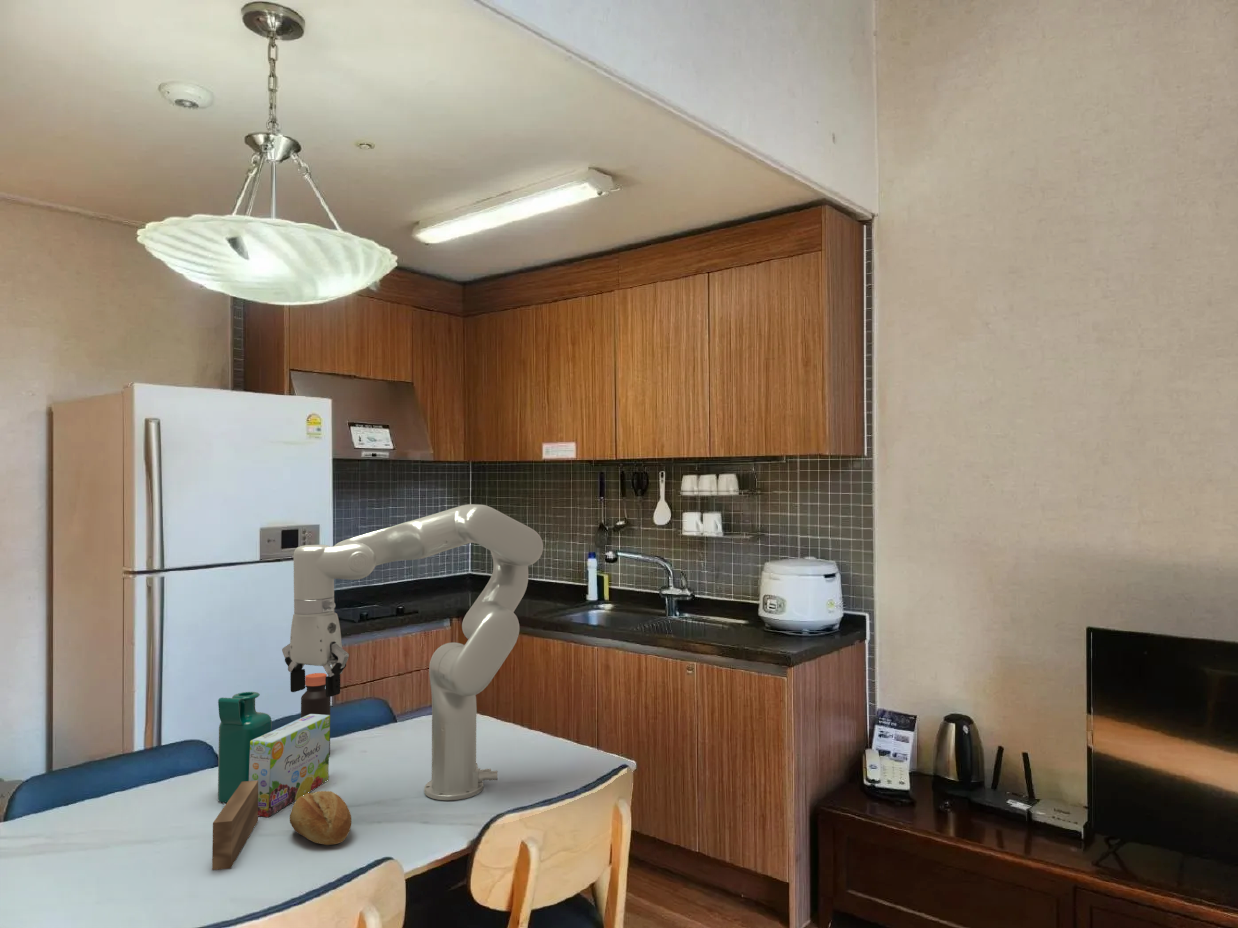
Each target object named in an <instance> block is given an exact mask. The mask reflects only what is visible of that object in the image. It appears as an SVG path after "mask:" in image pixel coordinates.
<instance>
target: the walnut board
mask: <svg viewBox="0 0 1238 928" xmlns="http://www.w3.org/2000/svg"><path fill="white" fill-rule="evenodd" d="M258 817H259V816H258V780H257V781H244V782H241V784H240V785H239V786H238V788H237V789H236V791H235V792H234V794H233V795H232V796H231V798H230V799H229V801H228V802H227V803H226V804H225V805H224V806H223V808H222V809H221V810H220V812H219V813H218V815H217V816H216V818H215V819H214V821H213V822H212V852H211V854H212V855H211V856H212V859H211V862H212V863H211V871H217V870H226V869H229V870H230V869H232V868H233V865H234V864H235V862H236V860H237V858H238V857H239V855H240V853H241V852H242V850H243V848H244V846H245V845H246V843H247V841H248V839H249V838H250V836H251V834H252V832H253V831H254V829H255V827H256V825H257V824H258V822H257V821H258V819H259V818H258ZM256 823H257V824H256ZM254 826H255V827H254ZM253 828H254V829H253Z"/></svg>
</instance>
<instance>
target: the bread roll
mask: <svg viewBox="0 0 1238 928" xmlns="http://www.w3.org/2000/svg"><path fill="white" fill-rule="evenodd" d="M289 823H290V825H291V828H293V830H294V831H295V832H296V833H297V834H299V835H301V836H302V837H303V838H305V839H307V840H308V841H311V842H313V843H315V844H319V845H324V846H332V845H338V844H340V843H343V842H344V841H345V840H346V838H347V837H348V835H349V833H350V831H351V828H352V813H351V811H350V809H349V807H348V805H347V803H346V802H345V801H344V800H343V798H342V797H341V796H340V795H338V794H337V793H335V792H333V791H330V790H318V791H316V792H309V793H307V794H305V795H304V796H300V797H299V798H298V799H297V800H296V801H294V802H293V806H292V809H291V811H290V815H289Z"/></svg>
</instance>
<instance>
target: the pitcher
mask: <svg viewBox="0 0 1238 928" xmlns="http://www.w3.org/2000/svg"><path fill="white" fill-rule="evenodd" d="M259 697H260V693H259V692H257V691H245V692H244V691H242V692H239V693H235V694H234V695H232V697H220V698H218V700H217V703H218V705H217V706H218V716H219V720H220V723H219V725H218V762H217V763H218V765H217V767H218V768H217V770H218V772H217V800H218V801H219V803H227V802H228V801H229V799H230V798H231V796H232V795H233V794H234V792H235V791H236V789H237V788H238V786H239V785H240V784H241V782H244V781H249V761H250V741H251V740H253V739H256V738H258V737H260V736H262V735H264V734H267V733H269V732H271V731H273V730H272V725H273V724H272V723H273V722H272V718H271V716H270V714H269V713H266V712H260V711H257V710H256V699H257V698H259Z"/></svg>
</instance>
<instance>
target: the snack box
mask: <svg viewBox="0 0 1238 928" xmlns="http://www.w3.org/2000/svg"><path fill="white" fill-rule="evenodd" d="M329 737H330V738H331V714H330V715H321V714H309V715H307V716H304V717H302V718H301V717H300V718H297V719H295V720H293V721H291V722H288V723H286V724H285V725H282V726H281V727H278V728H276V729H273V730H271V732H269V733H267V734H264V735H262V736H260V737H258V738H256V739H253V740H251V741H250V761H249V781H257V780H258V817H261V816H262V818H269V817H271V816H273V815H275V814H276V813H278V812H279V811H281V810H283V809H285V808H286V807H288V806H289V805H291V804H292V802H293V803H295V802H296V801H295V800H297V799H298V798H299V797H300V796H303V795H305V794H307V793H308V792H309V793H311V792H312V791H311V790H313V789H314V788H316V789H317V788H319V787H321V786H322V785H323V784H322V783H324V782H325V781H327V780H328V781H329V770H330V769H329V766H330V762H329V761H330V760H329V759H330V755H329ZM328 781H327V782H328ZM321 784H322V785H321ZM324 784H325V783H324ZM320 785H321V786H320ZM318 786H319V787H318ZM314 790H315V789H314ZM314 790H313V791H314ZM310 791H311V792H310ZM290 803H291V804H290ZM288 804H289V805H288ZM287 805H288V806H287ZM285 806H286V807H285ZM277 811H278V812H277Z"/></svg>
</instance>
